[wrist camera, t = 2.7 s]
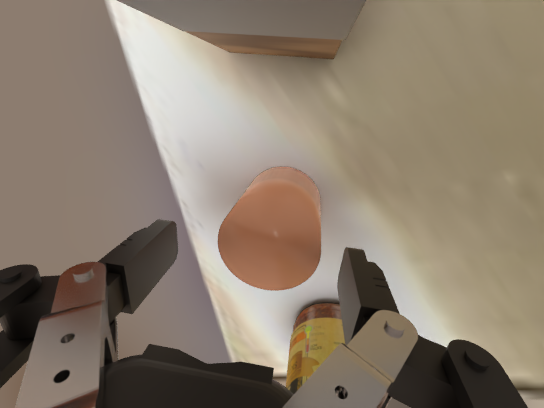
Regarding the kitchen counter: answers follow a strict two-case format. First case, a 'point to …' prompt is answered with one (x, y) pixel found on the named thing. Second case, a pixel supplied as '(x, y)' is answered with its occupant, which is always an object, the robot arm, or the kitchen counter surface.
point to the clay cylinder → (274, 231)
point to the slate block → (257, 16)
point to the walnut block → (272, 44)
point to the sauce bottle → (313, 341)
